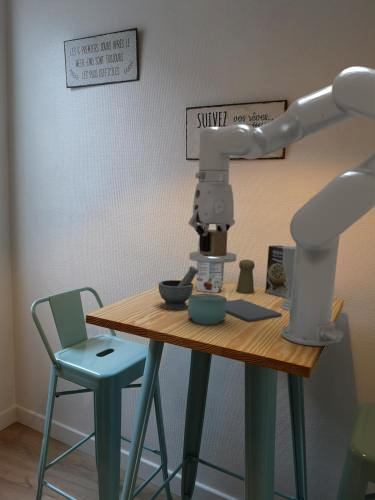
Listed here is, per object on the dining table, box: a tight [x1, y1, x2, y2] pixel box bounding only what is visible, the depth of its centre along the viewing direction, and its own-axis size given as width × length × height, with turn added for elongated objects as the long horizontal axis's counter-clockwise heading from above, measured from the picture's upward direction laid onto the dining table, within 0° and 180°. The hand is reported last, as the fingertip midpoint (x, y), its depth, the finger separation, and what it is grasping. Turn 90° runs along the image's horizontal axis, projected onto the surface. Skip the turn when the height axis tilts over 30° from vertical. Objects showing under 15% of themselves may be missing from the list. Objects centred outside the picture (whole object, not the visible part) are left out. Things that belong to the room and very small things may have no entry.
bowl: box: [187, 293, 228, 326], centre depth 113 cm, size 10×10×6 cm
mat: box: [226, 299, 283, 323], centre depth 123 cm, size 17×12×1 cm
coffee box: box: [265, 245, 290, 299], centre depth 144 cm, size 9×6×16 cm
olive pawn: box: [236, 259, 255, 295], centre depth 146 cm, size 6×6×11 cm
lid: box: [189, 229, 237, 264], centre depth 109 cm, size 12×12×7 cm
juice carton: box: [195, 235, 225, 294], centre depth 145 cm, size 8×9×19 cm
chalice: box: [280, 245, 296, 311], centre depth 128 cm, size 7×7×18 cm
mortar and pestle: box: [158, 266, 198, 311], centre depth 124 cm, size 11×9×12 cm
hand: (211, 250), depth 110 cm, fingers closed on lid, 4 cm apart
